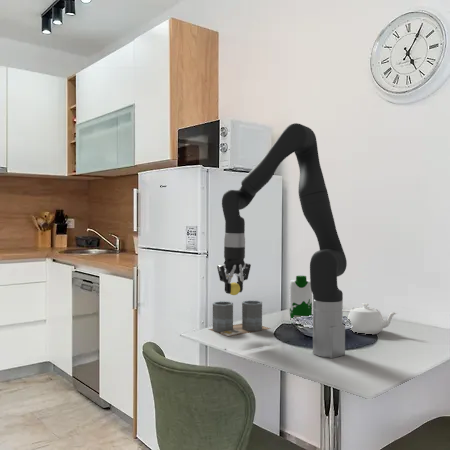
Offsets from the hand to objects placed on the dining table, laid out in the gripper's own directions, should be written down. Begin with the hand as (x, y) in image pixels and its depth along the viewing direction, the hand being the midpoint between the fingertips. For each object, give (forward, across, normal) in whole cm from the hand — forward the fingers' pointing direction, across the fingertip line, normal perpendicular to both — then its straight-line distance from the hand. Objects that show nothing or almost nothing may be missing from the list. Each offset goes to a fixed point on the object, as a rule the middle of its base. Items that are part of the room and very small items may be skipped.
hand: (233, 292), depth 171 cm
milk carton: (+16, +32, -3) cm, 36 cm away
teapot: (+16, +45, -25) cm, 53 cm away
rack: (+16, +6, +4) cm, 17 cm away
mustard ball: (+1, 0, 0) cm, 1 cm away
